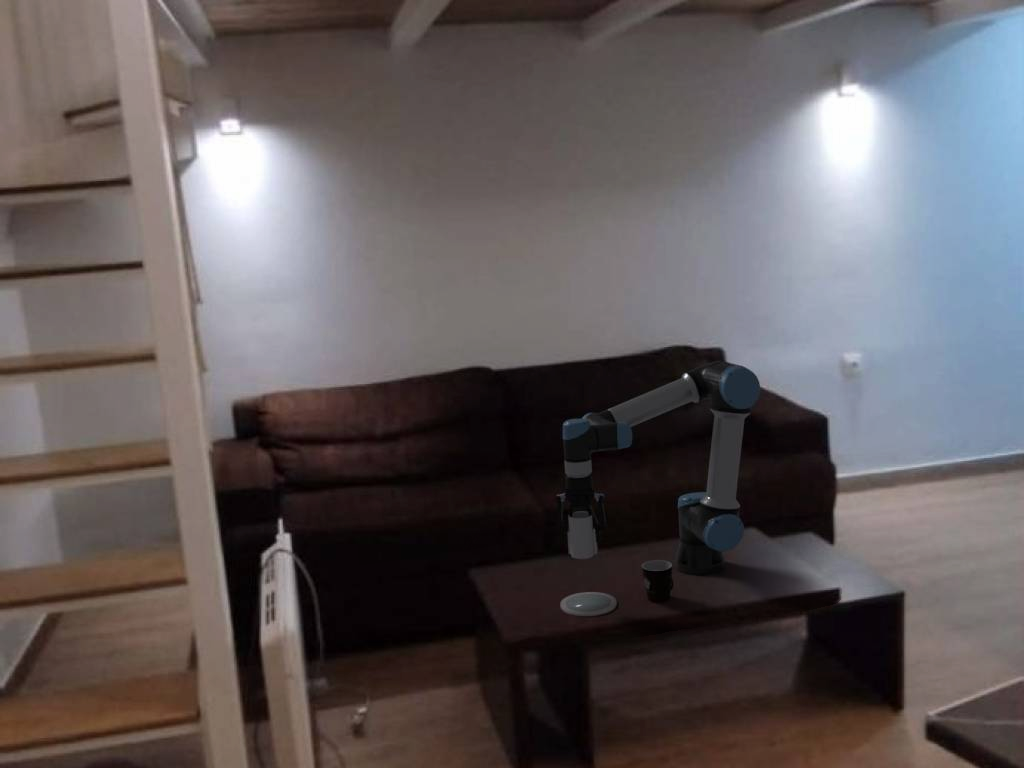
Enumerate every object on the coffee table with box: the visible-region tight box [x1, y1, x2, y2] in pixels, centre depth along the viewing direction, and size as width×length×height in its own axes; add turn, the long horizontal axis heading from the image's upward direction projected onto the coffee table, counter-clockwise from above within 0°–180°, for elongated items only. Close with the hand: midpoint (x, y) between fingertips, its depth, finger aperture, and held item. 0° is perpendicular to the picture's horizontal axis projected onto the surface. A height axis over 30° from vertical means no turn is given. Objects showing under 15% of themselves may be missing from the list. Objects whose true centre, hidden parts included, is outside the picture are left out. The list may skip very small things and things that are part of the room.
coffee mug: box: [641, 559, 674, 604], centre depth 292 cm, size 12×9×10 cm
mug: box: [567, 510, 594, 560], centre depth 292 cm, size 10×7×12 cm, turn 3°
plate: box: [560, 591, 618, 617], centre depth 293 cm, size 16×16×1 cm
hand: (583, 552), depth 292 cm, fingers closed on mug, 6 cm apart
